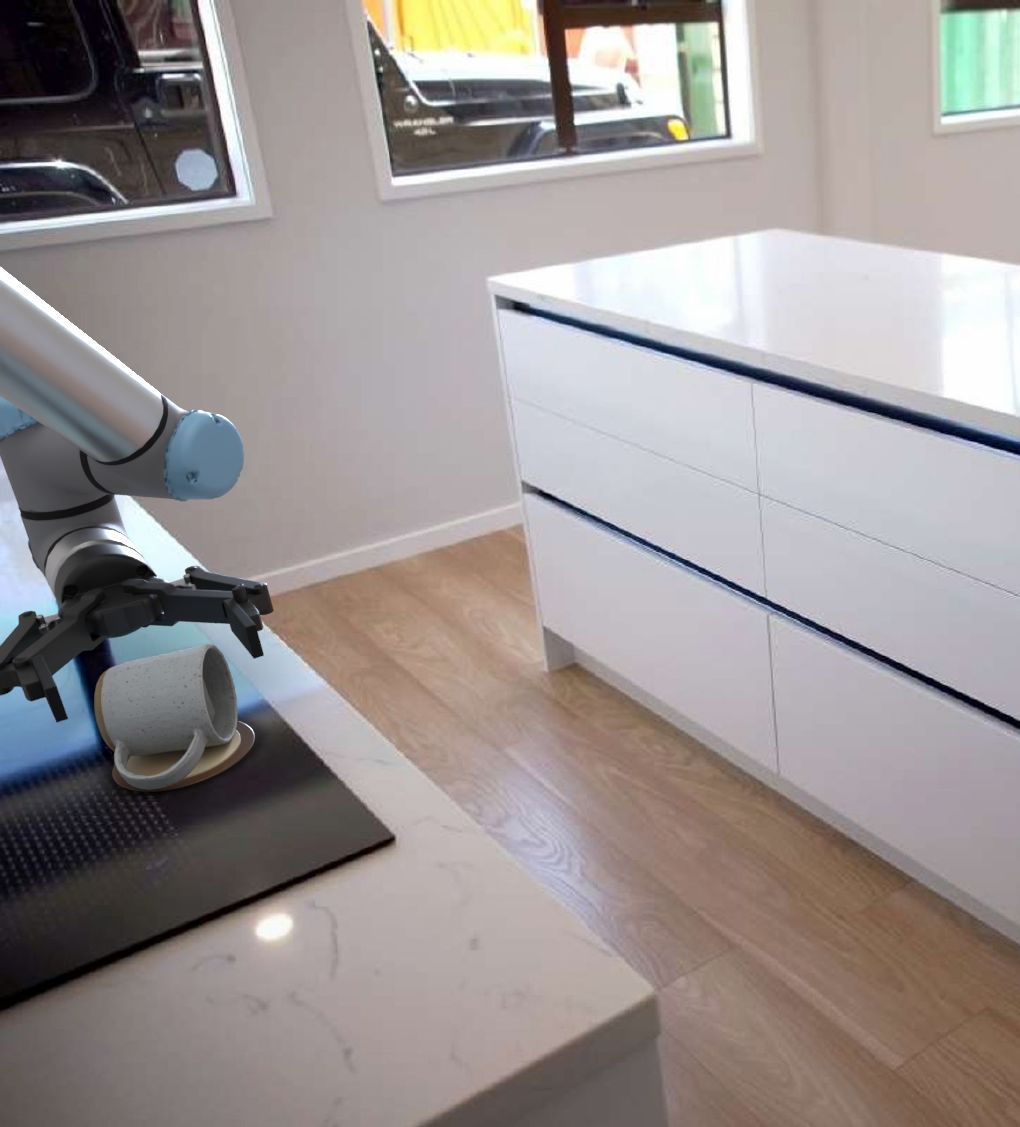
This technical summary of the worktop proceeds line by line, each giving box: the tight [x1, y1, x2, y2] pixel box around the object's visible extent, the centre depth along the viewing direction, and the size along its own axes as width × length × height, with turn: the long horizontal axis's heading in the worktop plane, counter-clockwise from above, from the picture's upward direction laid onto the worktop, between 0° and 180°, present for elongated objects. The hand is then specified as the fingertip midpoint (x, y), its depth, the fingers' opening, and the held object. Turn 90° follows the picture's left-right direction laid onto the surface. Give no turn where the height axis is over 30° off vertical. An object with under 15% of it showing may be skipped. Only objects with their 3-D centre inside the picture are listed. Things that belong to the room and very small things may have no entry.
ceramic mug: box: [93, 643, 238, 790], centre depth 96 cm, size 11×8×8 cm
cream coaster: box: [111, 720, 256, 793], centre depth 98 cm, size 10×10×1 cm
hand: (159, 672), depth 95 cm, fingers open, 13 cm apart
